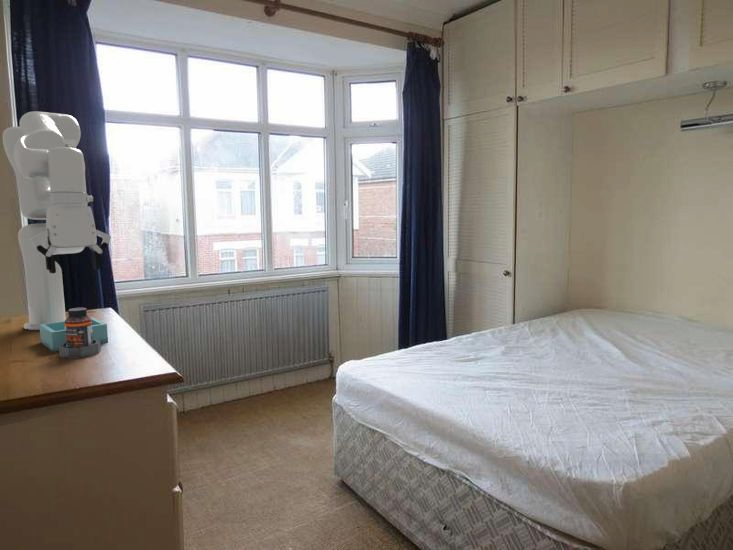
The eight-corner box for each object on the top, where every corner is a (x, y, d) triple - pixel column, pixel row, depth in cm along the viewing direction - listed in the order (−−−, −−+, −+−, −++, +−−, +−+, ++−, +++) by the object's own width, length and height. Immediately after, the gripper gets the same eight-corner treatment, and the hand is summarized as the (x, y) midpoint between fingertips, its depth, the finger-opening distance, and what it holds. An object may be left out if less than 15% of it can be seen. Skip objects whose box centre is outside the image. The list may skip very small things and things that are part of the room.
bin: (40, 342, 138) (39, 324, 137) (93, 334, 147) (91, 317, 146) (53, 351, 128) (51, 332, 128) (108, 342, 137) (106, 324, 137)
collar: (55, 353, 127) (55, 343, 127) (94, 346, 133) (93, 337, 133) (65, 360, 121) (64, 350, 120) (105, 353, 127) (104, 343, 127)
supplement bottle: (63, 357, 123) (59, 311, 122) (70, 351, 129) (67, 307, 128) (90, 355, 125) (87, 310, 123) (96, 349, 131) (93, 306, 129)
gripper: (102, 201, 131) (107, 267, 133) (23, 200, 119) (30, 273, 121) (112, 200, 125) (117, 269, 127) (30, 199, 113) (37, 275, 115)
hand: (75, 271), depth 124 cm, fingers open, 9 cm apart
